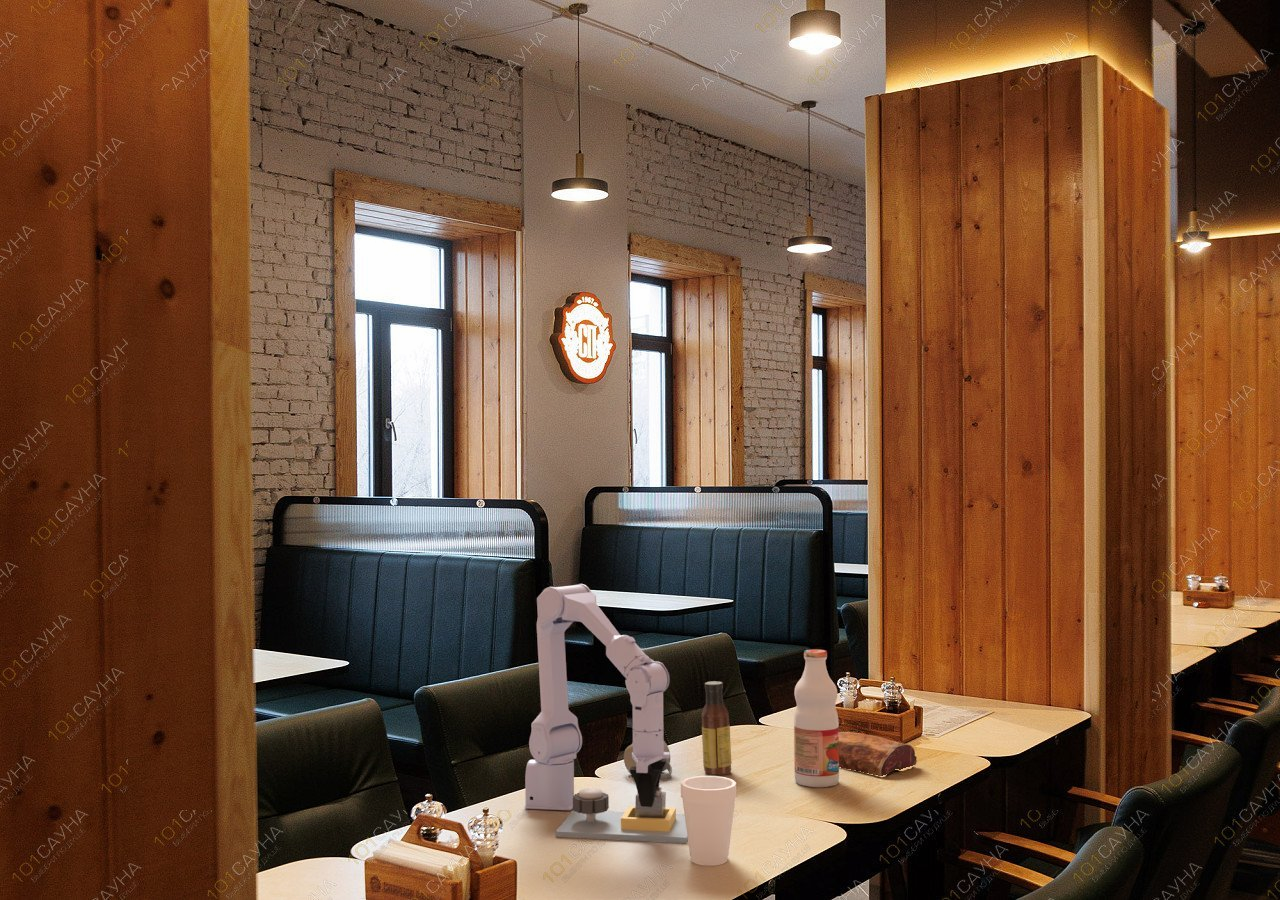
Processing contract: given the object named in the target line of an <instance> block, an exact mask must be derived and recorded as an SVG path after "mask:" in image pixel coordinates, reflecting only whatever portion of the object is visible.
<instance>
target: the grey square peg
mask: <svg viewBox="0 0 1280 900" xmlns="http://www.w3.org/2000/svg"><path fill="white" fill-rule="evenodd" d="M666 794H667V791H662V787H661V786H659V787H655V795H654V801H653V805H652V807H643V806H641V805H640V801H639V796H638V792H637V793H636V794H635V803H634V805H635V817H638V818H660V819H665V808H666V800H667V799H666V797H667V795H666Z"/></svg>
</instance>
